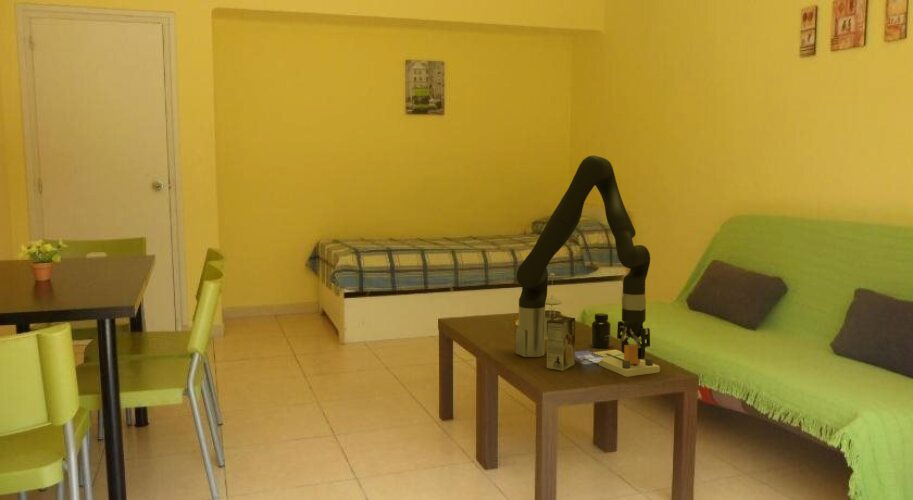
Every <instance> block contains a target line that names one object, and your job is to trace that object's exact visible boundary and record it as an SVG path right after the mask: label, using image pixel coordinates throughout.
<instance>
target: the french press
mask: <svg viewBox="0 0 913 500" xmlns="http://www.w3.org/2000/svg"><path fill="white" fill-rule="evenodd" d="M549 276H550V277H551V284H553V283H554V281H553V279H554V277H555V273H553V272H550V273H549ZM561 304H563V301H562V300H561V299H558V298H557V297H553V296H551V297H547V298H546V302H545V306H546V305H548V306H558V305H561ZM555 309H556V308H555V307H553V309H551V308H549V310H546V309H545V340H547V321H548V320H551V319H553V318H555V317H558V316H561V317H563V316H562V315H561V314H562V311H559V310H555Z"/></svg>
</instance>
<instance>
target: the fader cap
mask: <svg viewBox="0 0 913 500" xmlns="http://www.w3.org/2000/svg"><path fill="white" fill-rule="evenodd" d="M638 348H639V347H638V345H637V343H631V344H630V343H629V345H624V361H630V365H632V364H640V359H638Z"/></svg>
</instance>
